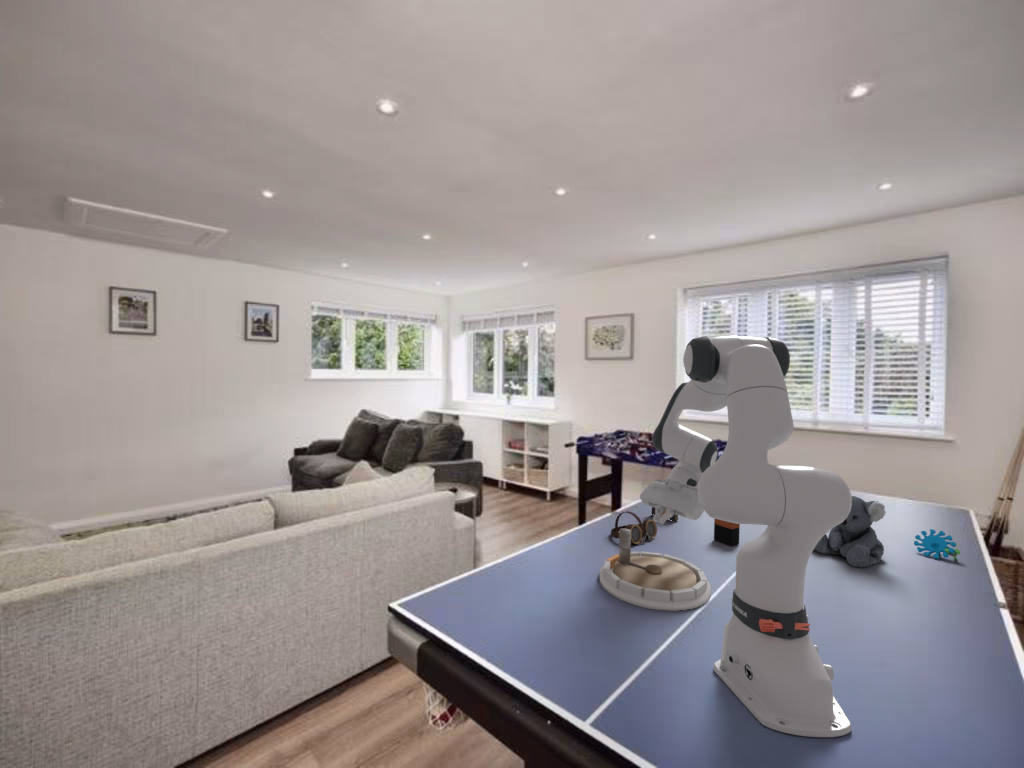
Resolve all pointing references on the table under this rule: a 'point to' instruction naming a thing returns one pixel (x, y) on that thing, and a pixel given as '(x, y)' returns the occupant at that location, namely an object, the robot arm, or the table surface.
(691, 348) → the robot arm
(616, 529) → the goggles
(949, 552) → the blue virus model
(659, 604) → the dial base
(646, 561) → the dial
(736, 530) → the battery
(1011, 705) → the table surface
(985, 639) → the table surface
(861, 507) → the koala plush
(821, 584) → the table surface
